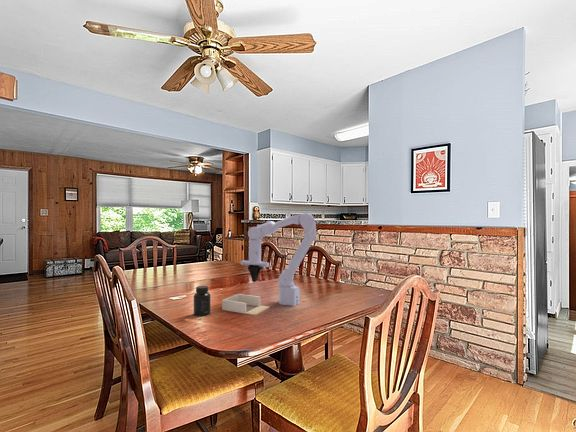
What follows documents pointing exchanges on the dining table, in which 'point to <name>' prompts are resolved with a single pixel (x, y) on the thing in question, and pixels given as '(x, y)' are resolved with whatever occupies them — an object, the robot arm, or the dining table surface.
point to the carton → (241, 303)
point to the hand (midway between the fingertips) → (254, 281)
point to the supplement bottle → (202, 301)
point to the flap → (258, 310)
